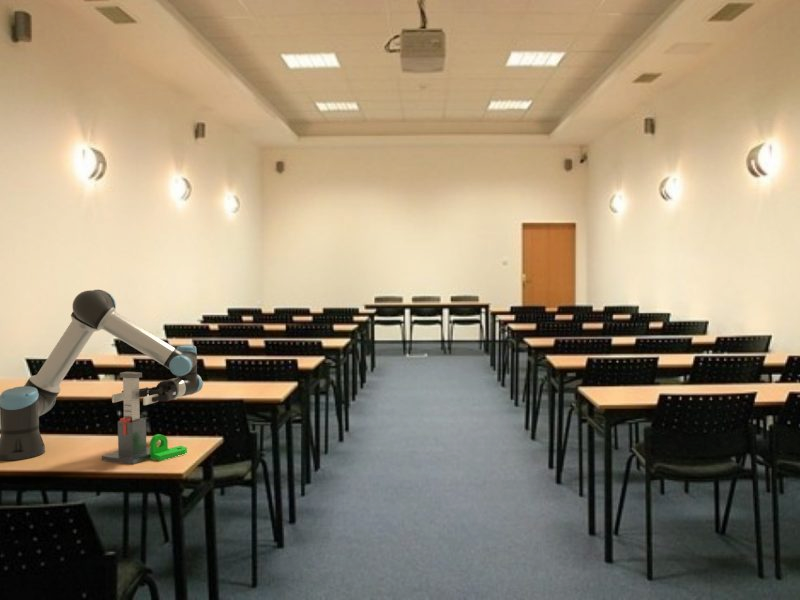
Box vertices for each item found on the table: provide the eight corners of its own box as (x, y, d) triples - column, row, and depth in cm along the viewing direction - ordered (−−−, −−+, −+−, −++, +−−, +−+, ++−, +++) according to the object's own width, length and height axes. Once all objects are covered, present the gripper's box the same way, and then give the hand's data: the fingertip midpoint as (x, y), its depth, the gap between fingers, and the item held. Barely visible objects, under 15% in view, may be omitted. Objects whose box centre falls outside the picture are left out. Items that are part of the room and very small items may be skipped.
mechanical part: (159, 461, 215) (159, 438, 214) (150, 458, 218) (149, 435, 218) (190, 453, 224) (190, 431, 224) (180, 451, 228) (180, 429, 228)
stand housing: (101, 460, 216) (100, 419, 215) (131, 449, 229) (130, 411, 229) (133, 464, 211) (132, 422, 211) (162, 453, 224) (162, 413, 224)
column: (120, 451, 220) (118, 373, 219) (128, 448, 223) (126, 371, 222) (136, 453, 217) (134, 374, 216) (144, 450, 221) (142, 372, 220)
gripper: (197, 401, 233) (157, 413, 214) (144, 397, 242) (100, 408, 222) (197, 381, 233) (157, 391, 213) (143, 378, 242) (100, 387, 222)
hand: (128, 400), depth 218 cm, fingers open, 13 cm apart
